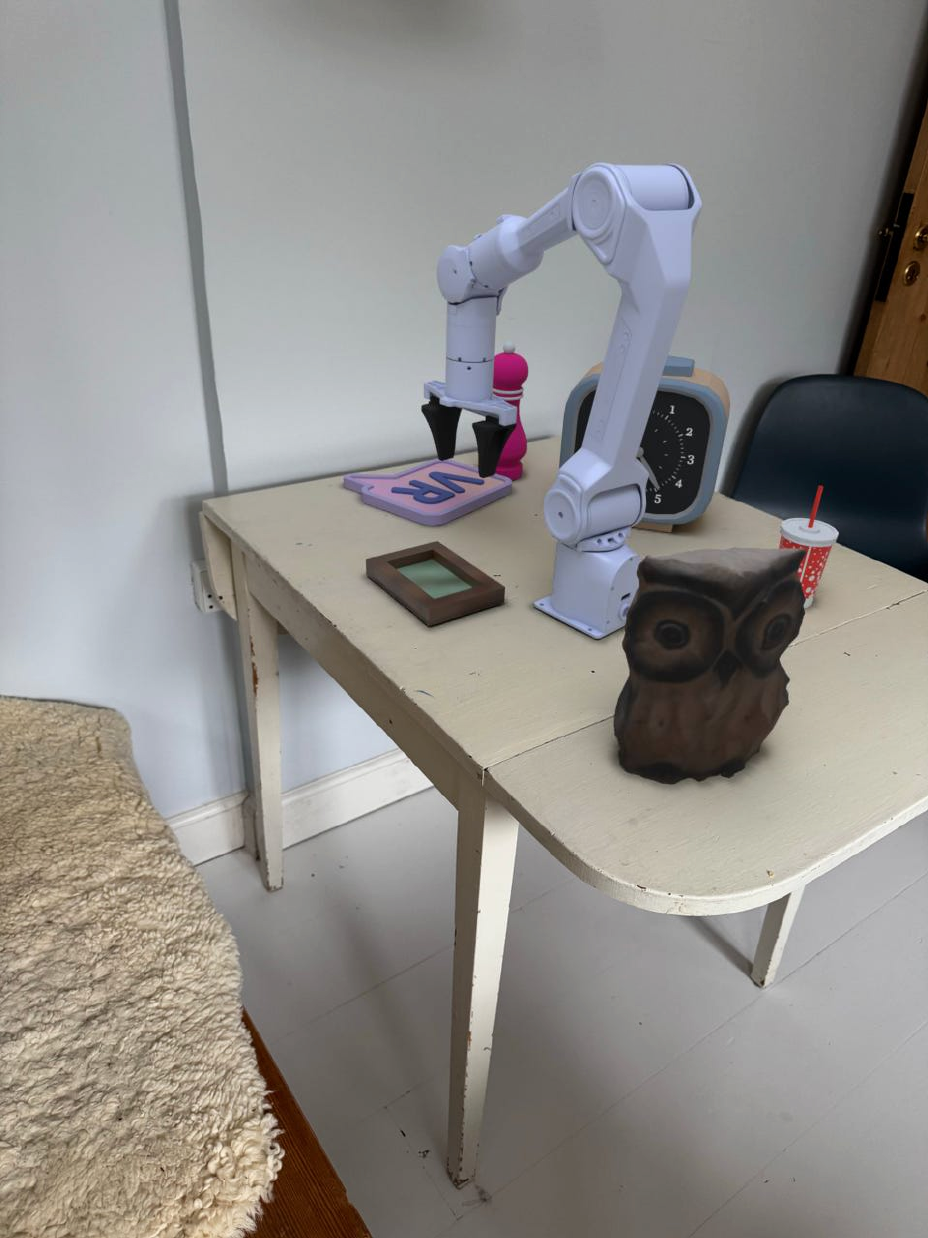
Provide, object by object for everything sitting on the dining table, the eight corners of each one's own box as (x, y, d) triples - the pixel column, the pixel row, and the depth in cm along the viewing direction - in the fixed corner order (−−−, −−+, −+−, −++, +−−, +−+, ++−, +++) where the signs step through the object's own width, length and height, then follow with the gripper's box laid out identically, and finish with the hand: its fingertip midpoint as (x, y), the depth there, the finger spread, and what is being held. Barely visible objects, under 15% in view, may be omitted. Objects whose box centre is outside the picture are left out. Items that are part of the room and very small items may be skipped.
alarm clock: (553, 517, 117) (567, 358, 106) (567, 493, 124) (582, 343, 113) (704, 541, 111) (736, 376, 100) (709, 514, 119) (740, 359, 108)
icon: (417, 449, 135) (518, 480, 124) (417, 458, 135) (517, 489, 125) (329, 480, 122) (434, 518, 111) (330, 490, 122) (433, 528, 112)
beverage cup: (816, 591, 100) (847, 480, 93) (821, 615, 95) (854, 500, 88) (763, 583, 101) (789, 473, 94) (764, 607, 96) (793, 492, 89)
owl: (779, 750, 74) (837, 543, 64) (715, 827, 65) (771, 603, 55) (651, 693, 81) (686, 498, 70) (578, 756, 72) (606, 545, 62)
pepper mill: (503, 462, 135) (511, 334, 125) (534, 476, 130) (545, 343, 120) (469, 471, 131) (474, 339, 121) (500, 485, 126) (507, 349, 116)
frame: (504, 602, 94) (505, 586, 93) (429, 626, 89) (429, 609, 88) (437, 555, 104) (437, 540, 103) (366, 574, 99) (365, 558, 98)
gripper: (404, 349, 101) (405, 457, 108) (488, 374, 92) (482, 491, 99) (448, 342, 105) (446, 447, 112) (532, 365, 96) (524, 478, 103)
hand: (466, 467), depth 106 cm, fingers open, 7 cm apart
